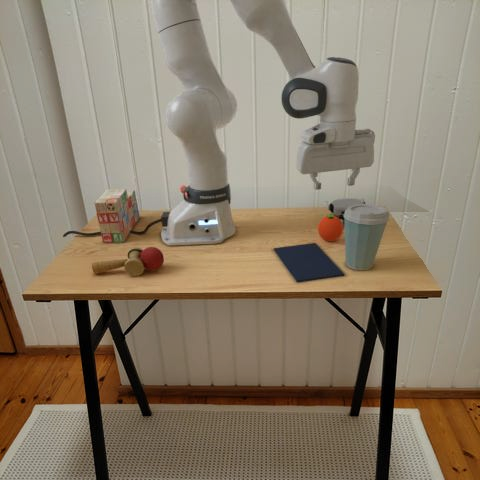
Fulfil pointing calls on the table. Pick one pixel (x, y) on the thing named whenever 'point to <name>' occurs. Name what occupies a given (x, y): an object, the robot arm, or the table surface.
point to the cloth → (307, 262)
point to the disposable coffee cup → (363, 234)
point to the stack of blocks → (116, 214)
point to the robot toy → (342, 206)
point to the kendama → (133, 261)
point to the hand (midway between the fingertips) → (334, 187)
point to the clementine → (330, 228)
